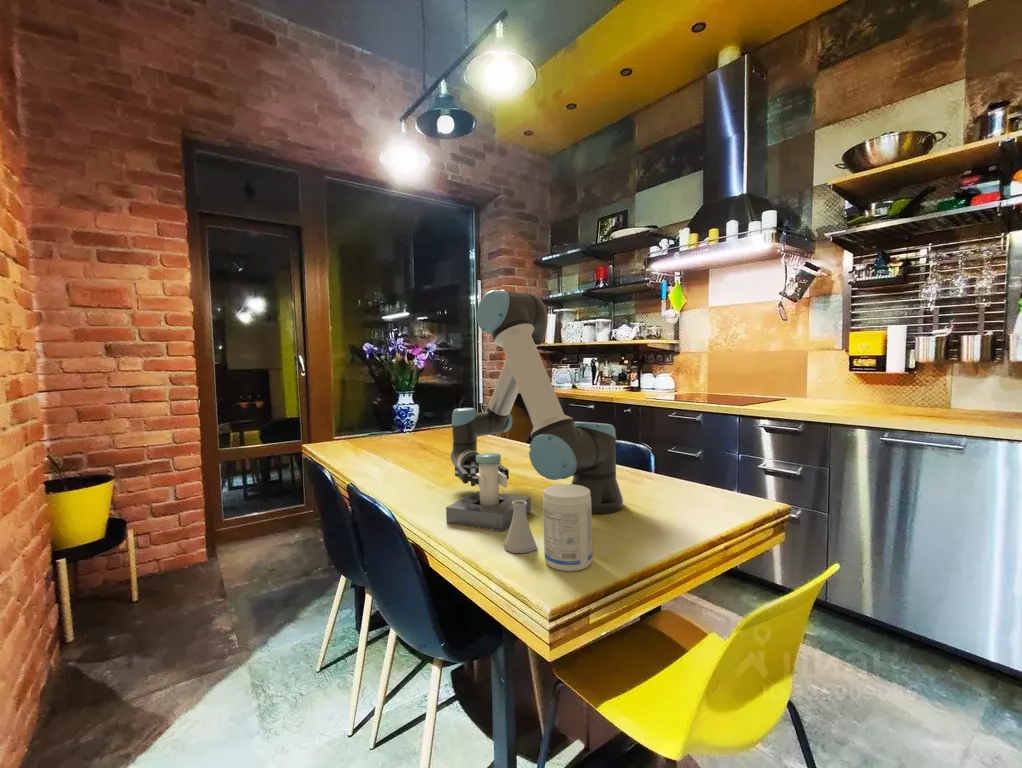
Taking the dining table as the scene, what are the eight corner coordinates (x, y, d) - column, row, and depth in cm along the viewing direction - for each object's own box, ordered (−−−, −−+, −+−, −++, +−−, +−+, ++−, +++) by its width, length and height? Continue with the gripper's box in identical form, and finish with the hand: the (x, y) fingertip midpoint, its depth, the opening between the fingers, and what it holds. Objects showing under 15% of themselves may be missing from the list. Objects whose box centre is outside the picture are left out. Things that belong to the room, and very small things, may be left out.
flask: (511, 557, 98) (510, 509, 98) (498, 545, 105) (497, 500, 104) (543, 550, 101) (542, 504, 101) (528, 539, 108) (527, 495, 107)
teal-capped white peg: (506, 514, 125) (505, 453, 124) (494, 522, 119) (493, 458, 118) (485, 511, 128) (483, 452, 127) (472, 518, 122) (471, 456, 121)
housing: (530, 512, 127) (530, 497, 127) (502, 531, 113) (502, 515, 113) (478, 504, 134) (478, 490, 134) (446, 522, 120) (446, 506, 120)
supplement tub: (567, 549, 102) (566, 481, 101) (602, 563, 94) (601, 489, 94) (534, 562, 95) (532, 489, 95) (568, 578, 88) (567, 499, 87)
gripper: (501, 474, 143) (529, 494, 121) (442, 480, 137) (459, 502, 115) (501, 449, 143) (528, 464, 121) (441, 454, 137) (458, 471, 115)
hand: (494, 483), depth 118 cm, fingers closed on teal-capped white peg, 5 cm apart
